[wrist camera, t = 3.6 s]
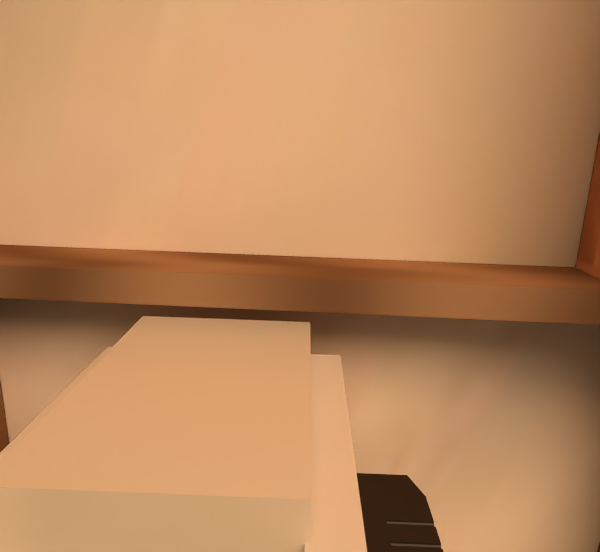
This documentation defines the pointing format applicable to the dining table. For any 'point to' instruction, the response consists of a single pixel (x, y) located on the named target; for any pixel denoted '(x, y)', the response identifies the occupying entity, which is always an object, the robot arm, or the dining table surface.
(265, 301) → the tray
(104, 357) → the cream tall block
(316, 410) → the robot arm
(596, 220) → the orange storage bin
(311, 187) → the dining table surface
